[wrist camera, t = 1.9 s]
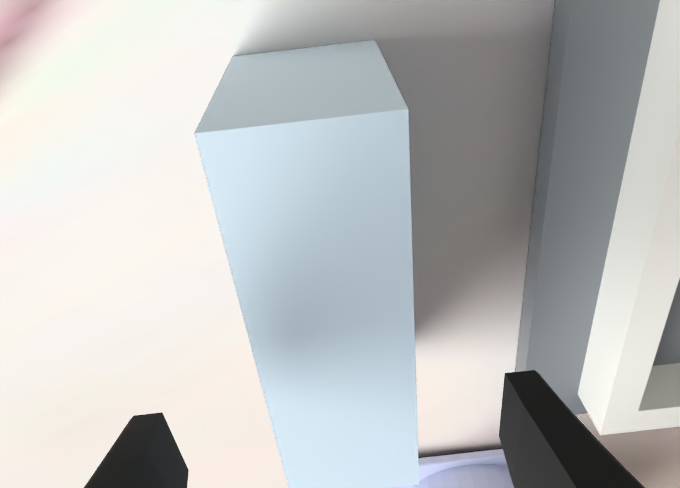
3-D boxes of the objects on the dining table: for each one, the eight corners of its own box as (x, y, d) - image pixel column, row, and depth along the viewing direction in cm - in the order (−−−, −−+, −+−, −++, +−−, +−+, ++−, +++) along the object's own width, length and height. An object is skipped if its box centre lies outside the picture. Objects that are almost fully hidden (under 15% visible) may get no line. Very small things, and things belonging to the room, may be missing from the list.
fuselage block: (392, 347, 21) (418, 484, 16) (295, 357, 21) (291, 497, 16) (374, 38, 15) (408, 108, 10) (233, 54, 15) (194, 133, 10)
